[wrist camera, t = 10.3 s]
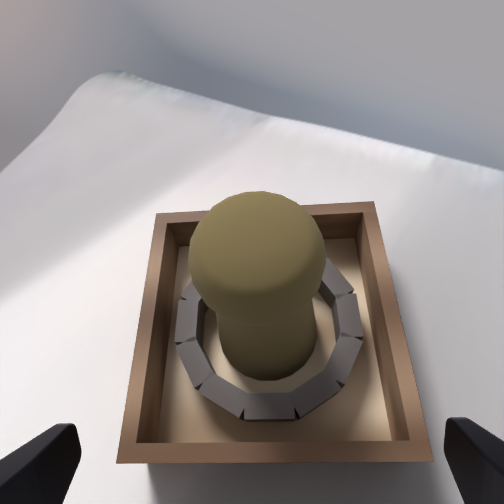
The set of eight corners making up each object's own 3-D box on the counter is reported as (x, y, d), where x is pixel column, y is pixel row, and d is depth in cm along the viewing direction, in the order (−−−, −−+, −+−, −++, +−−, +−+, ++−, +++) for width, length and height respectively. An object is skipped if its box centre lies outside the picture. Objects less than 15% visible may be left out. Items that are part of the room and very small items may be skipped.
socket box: (405, 459, 18) (434, 461, 15) (146, 461, 19) (116, 463, 16) (361, 235, 25) (373, 201, 22) (173, 244, 26) (156, 213, 23)
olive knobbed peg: (286, 270, 23) (287, 144, 14) (336, 350, 20) (383, 263, 11) (204, 310, 22) (143, 206, 13) (244, 401, 19) (205, 354, 10)
